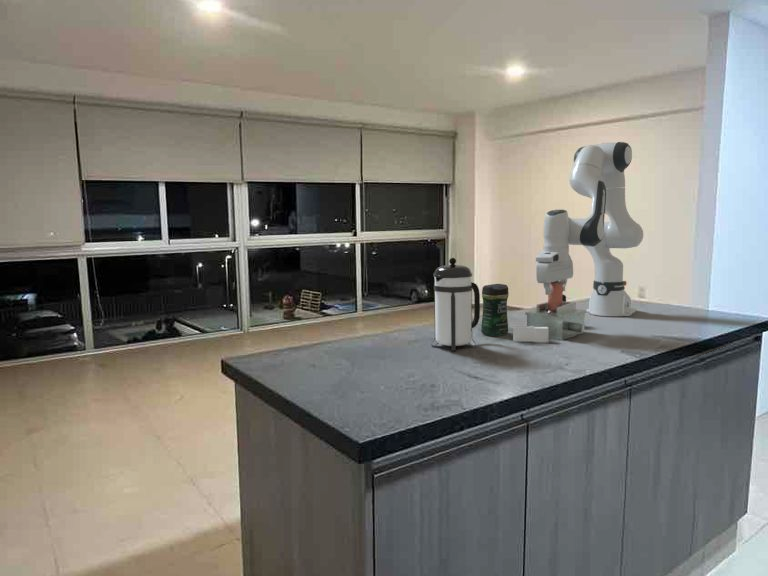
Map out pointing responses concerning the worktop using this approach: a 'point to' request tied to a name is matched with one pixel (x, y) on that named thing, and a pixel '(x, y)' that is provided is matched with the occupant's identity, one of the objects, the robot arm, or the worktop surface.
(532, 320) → the pale green square box
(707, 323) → the worktop surface
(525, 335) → the white stepped block
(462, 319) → the coffee press
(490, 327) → the coffee jar
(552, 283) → the spout can
